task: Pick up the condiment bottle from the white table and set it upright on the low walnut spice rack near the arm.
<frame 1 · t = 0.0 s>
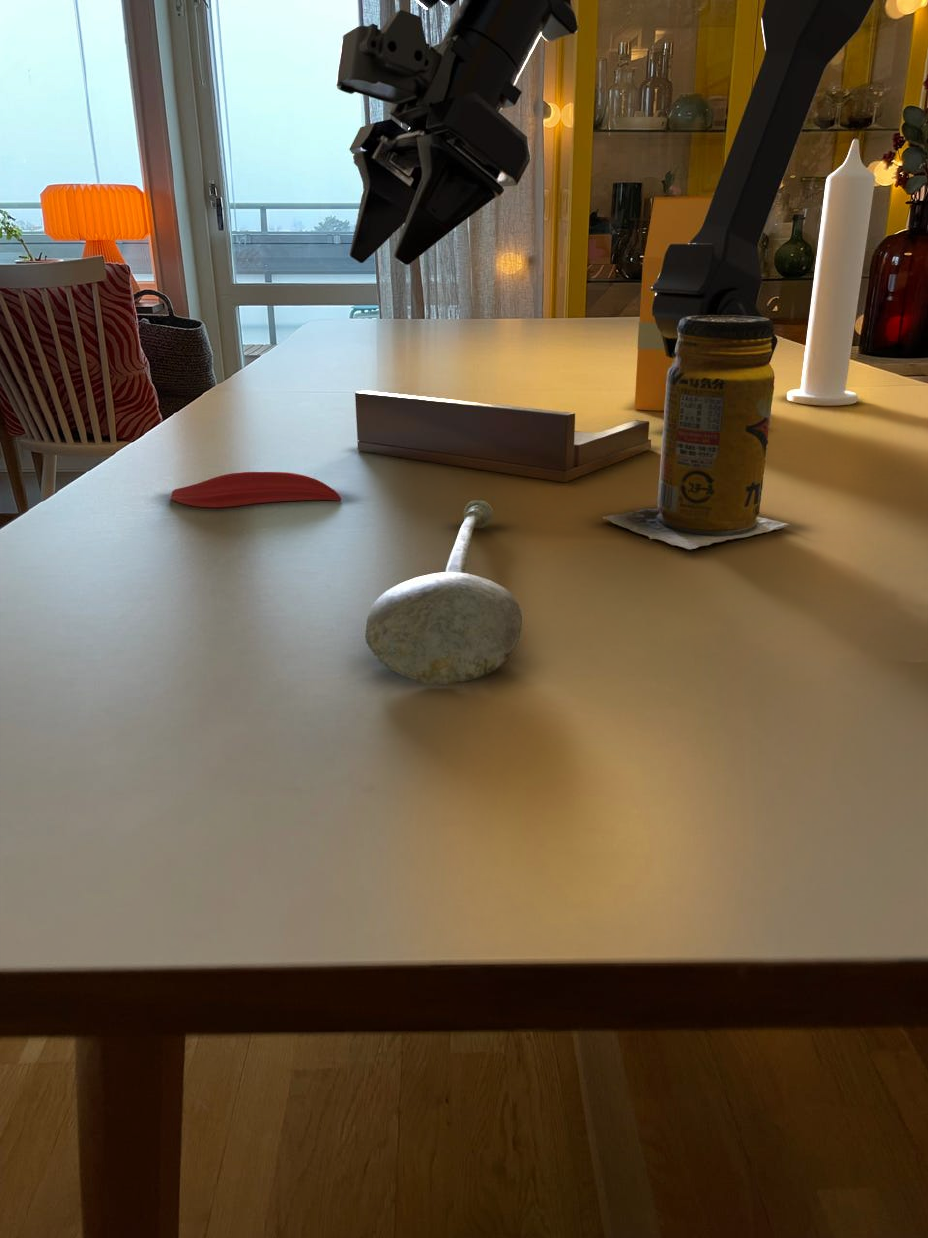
hand: (376, 260, 67), 15 cm above the table, tool tilted 35°, fingers open, 9 cm apart
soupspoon: (462, 591, 47), on the table
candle: (821, 402, 100), on the table
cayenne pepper: (253, 502, 63), on the table
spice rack: (503, 449, 78), on the table
orange juice: (682, 407, 98), on the table
condiment: (694, 528, 57), on the table
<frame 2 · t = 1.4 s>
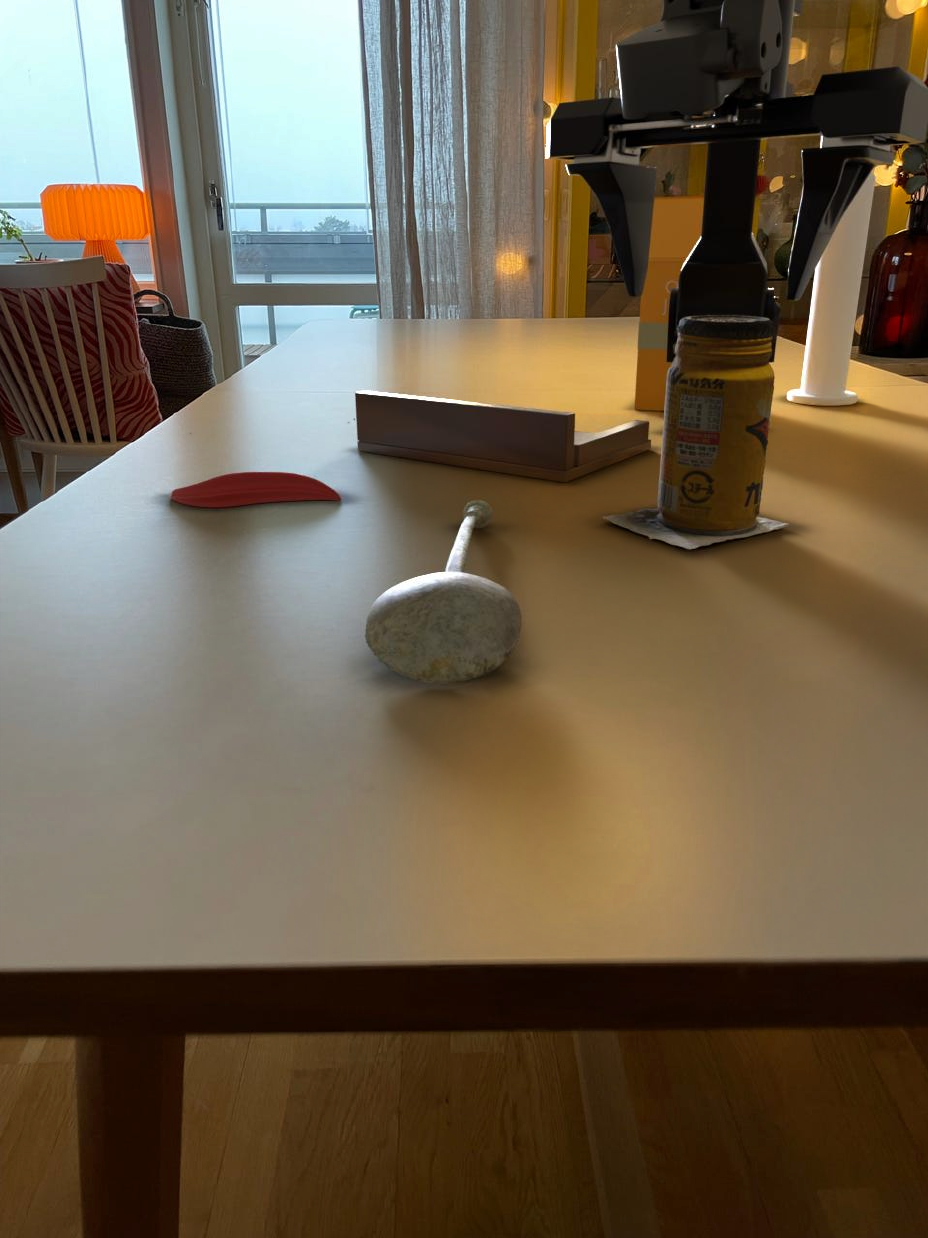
hand: (710, 298, 52), 13 cm above the table, tool pointing down, fingers open, 9 cm apart
nothing on the table moved.
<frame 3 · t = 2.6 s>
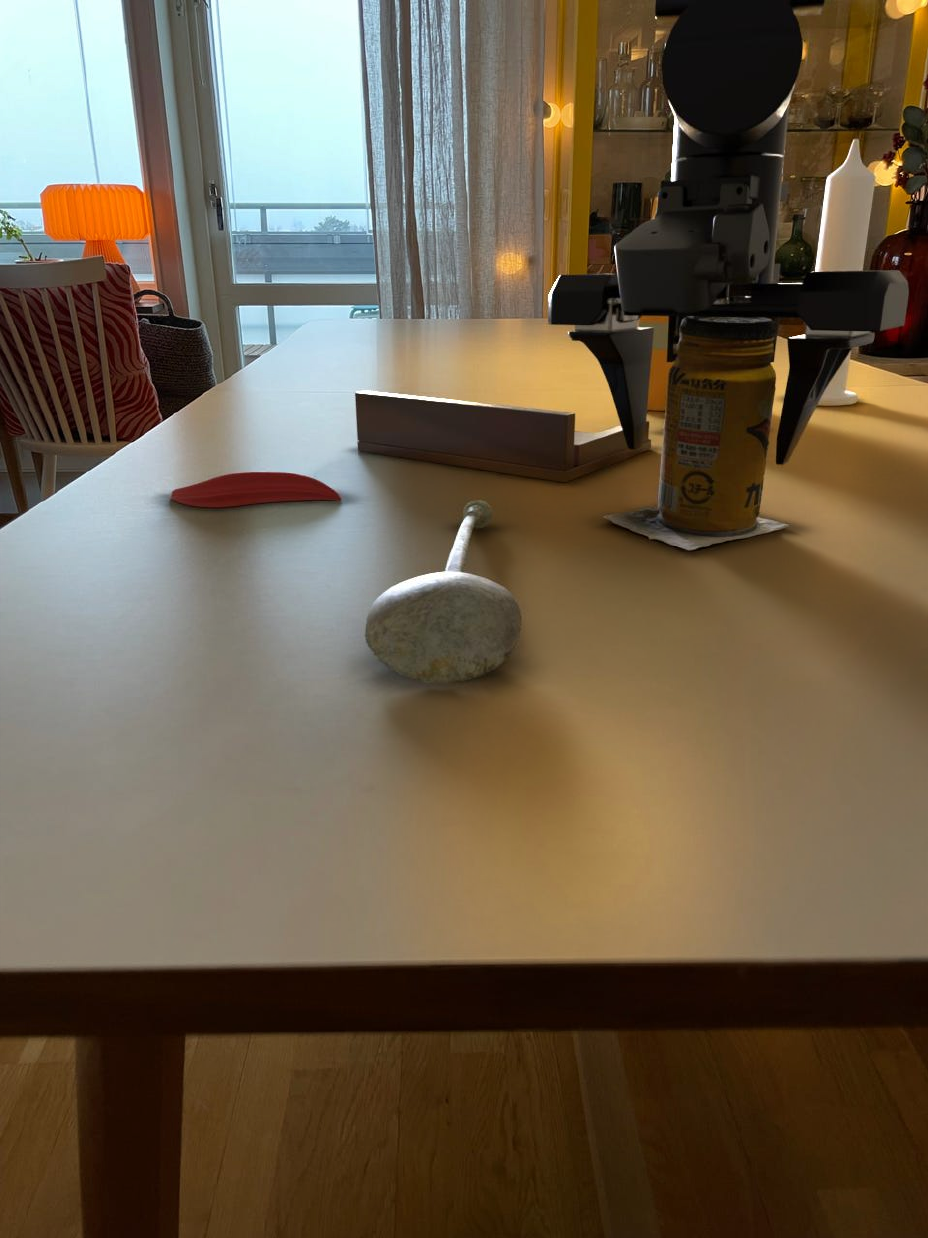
hand: (704, 456, 55), 4 cm above the table, tool pointing down
condiment: (694, 528, 57), on the table, touching gripper
everything else where it was.
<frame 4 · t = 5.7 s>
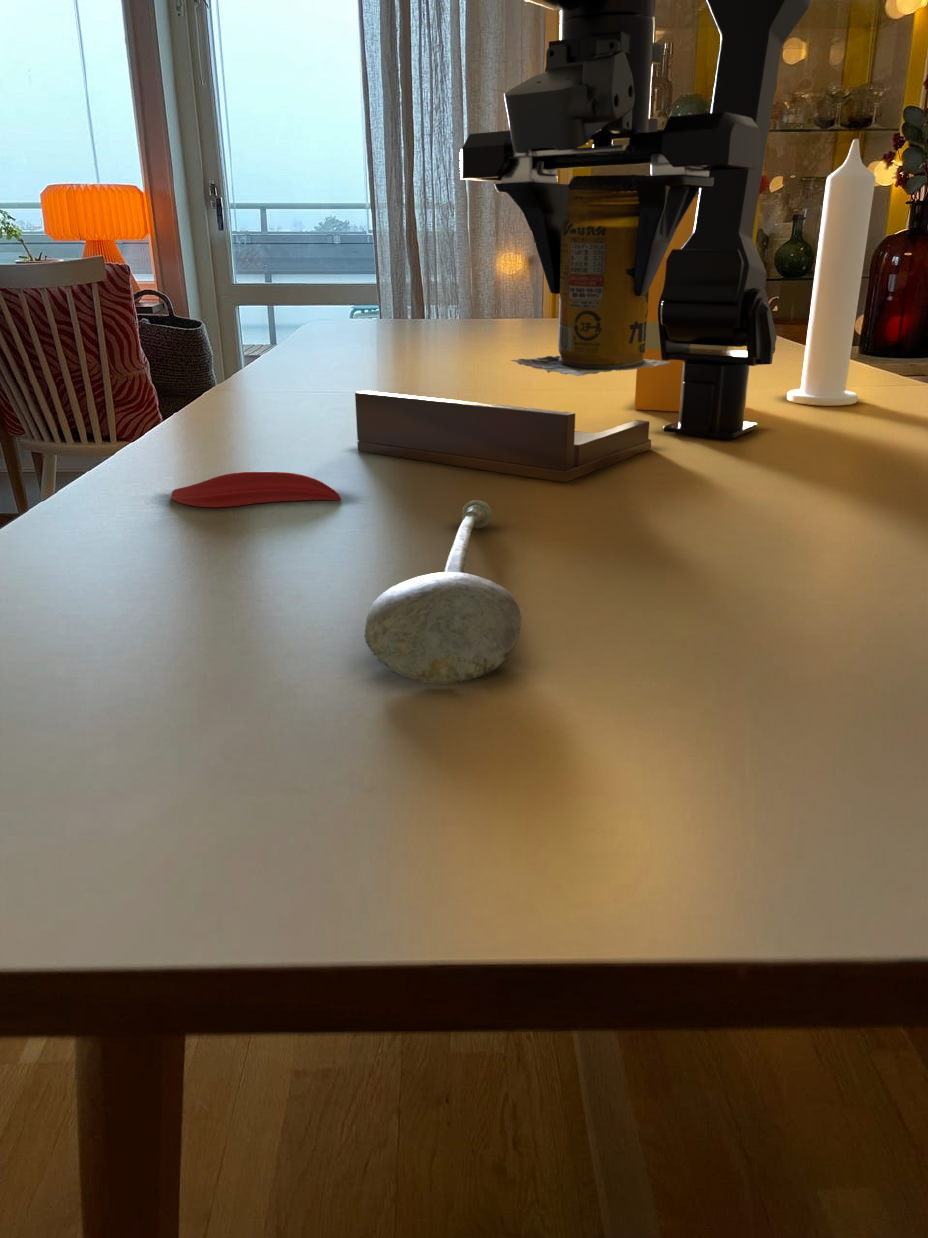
hand: (597, 294, 63), 13 cm above the table, tool pointing down, fingers closed on condiment, 6 cm apart
condiment: (590, 368, 65), point 8 cm above the table, touching gripper
everything else where it was.
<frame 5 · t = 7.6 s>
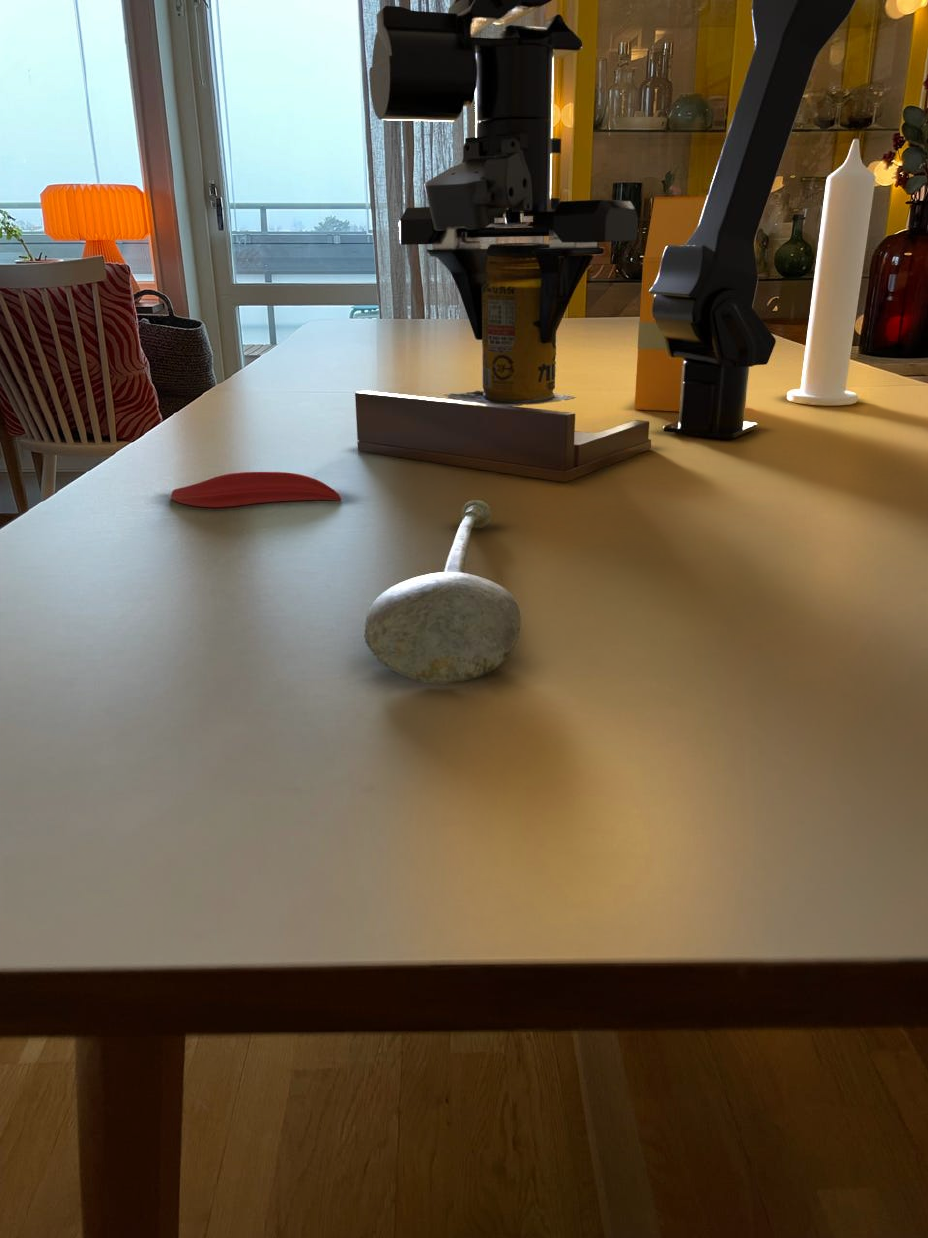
hand: (512, 341, 75), 9 cm above the table, tool pointing down, fingers closed on condiment, 6 cm apart
condiment: (509, 401, 78), point 4 cm above the table, touching gripper
everything else where it was.
when the fingers open (6 cm above the table, at t = 8.8 s): condiment stays where it is, resting on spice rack.
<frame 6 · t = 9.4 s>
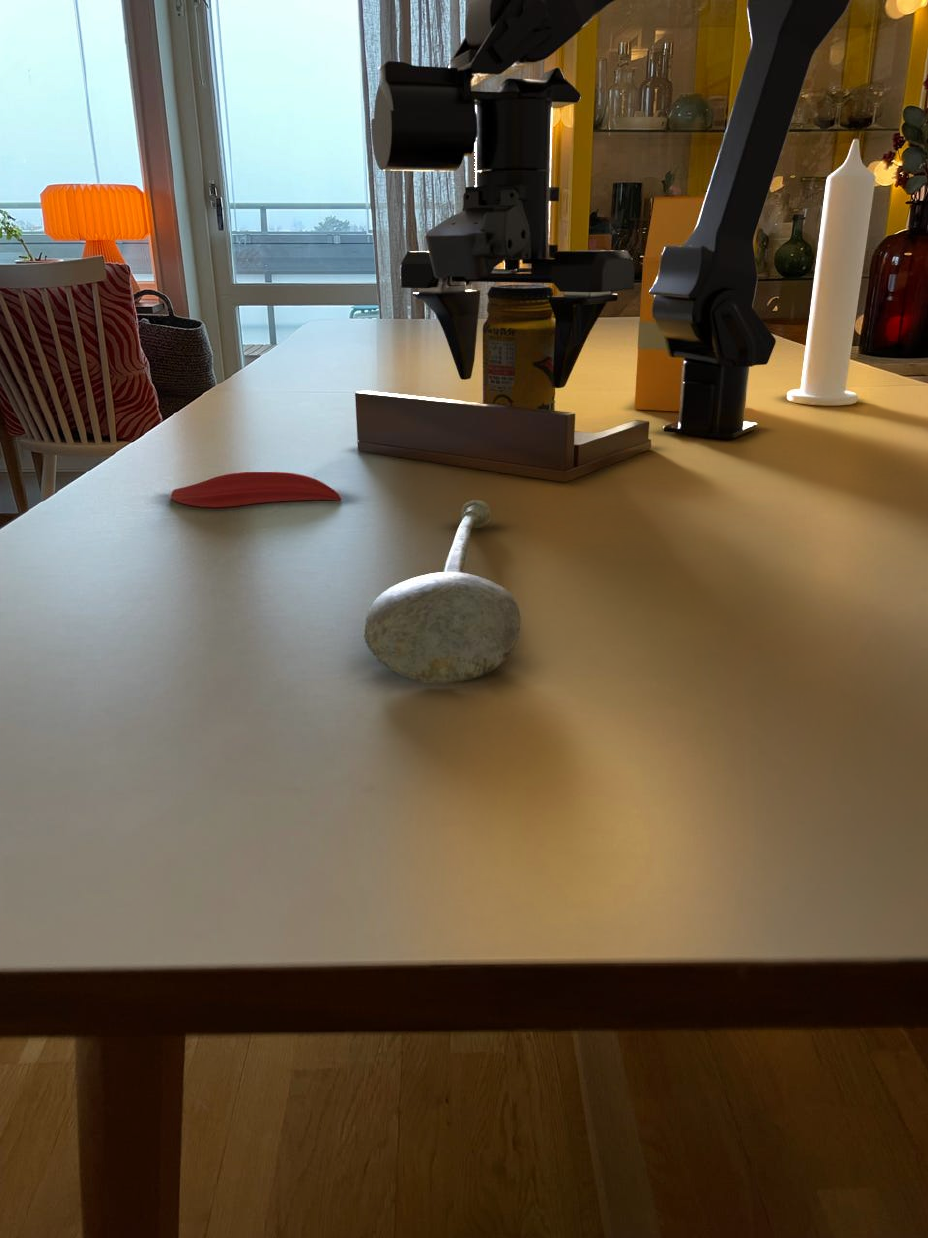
hand: (511, 383, 77), 5 cm above the table, tool pointing down, fingers open, 9 cm apart
condiment: (508, 439, 79), point 1 cm above the table, touching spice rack
everything else where it was.
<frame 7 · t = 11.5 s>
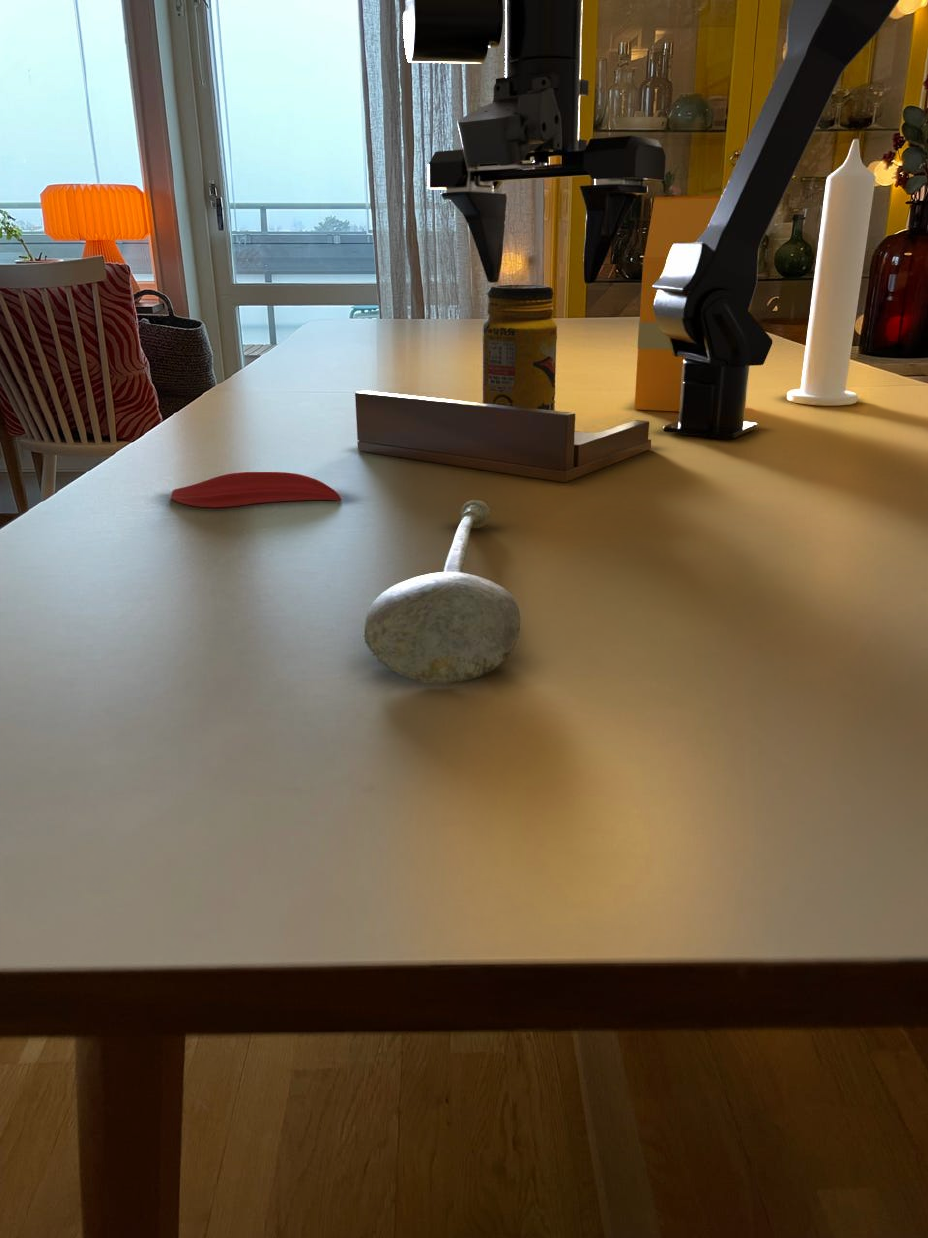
hand: (539, 283, 77), 13 cm above the table, tool pointing down, fingers open, 9 cm apart
nothing on the table moved.
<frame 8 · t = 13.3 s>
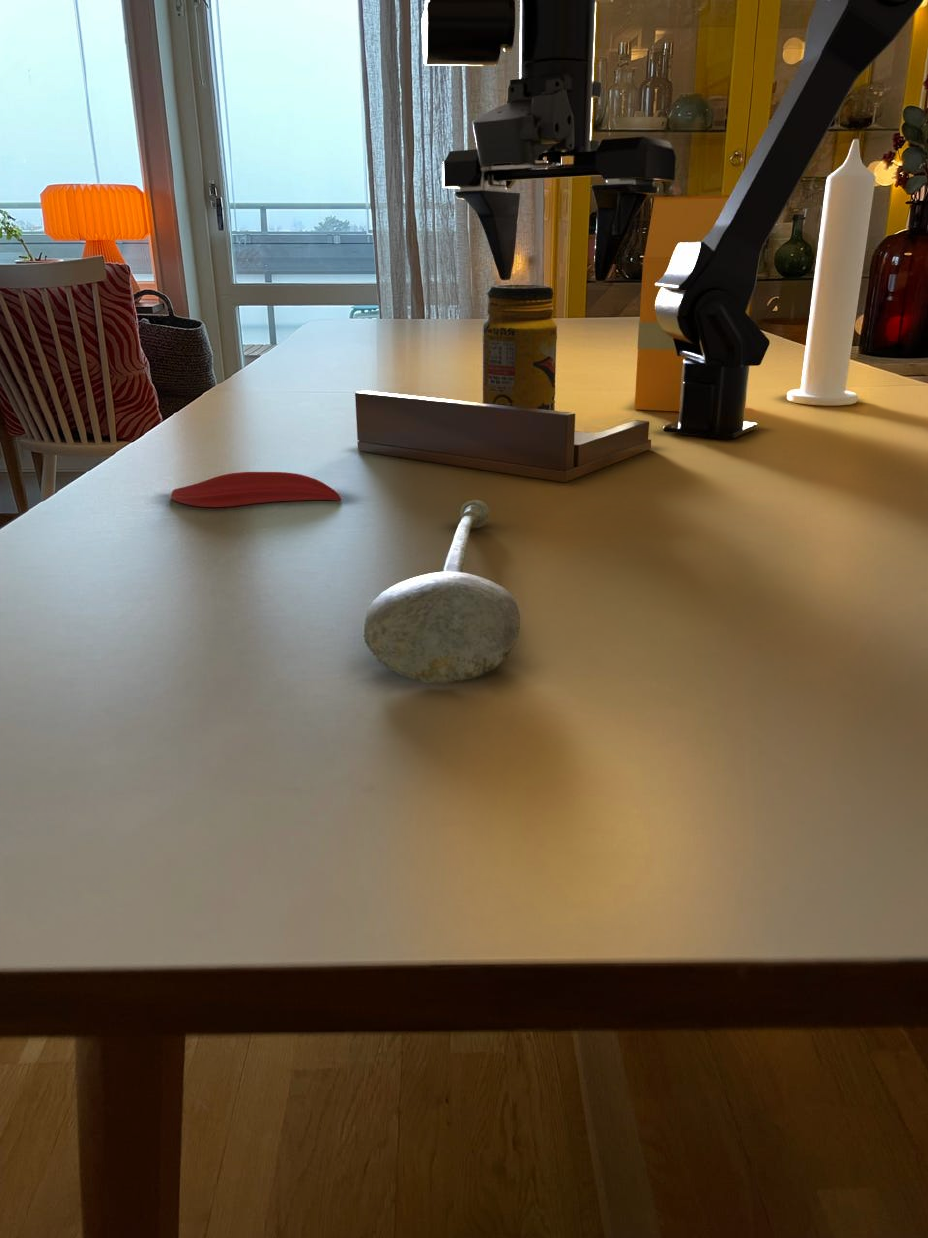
hand: (551, 280, 78), 13 cm above the table, tool pointing down, fingers open, 9 cm apart
nothing on the table moved.
at the end: condiment inside the target area on the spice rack (1.0 cm from its centre), point 0.6 cm above the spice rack's base; condiment tilted 0°; the gripper is holding nothing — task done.
